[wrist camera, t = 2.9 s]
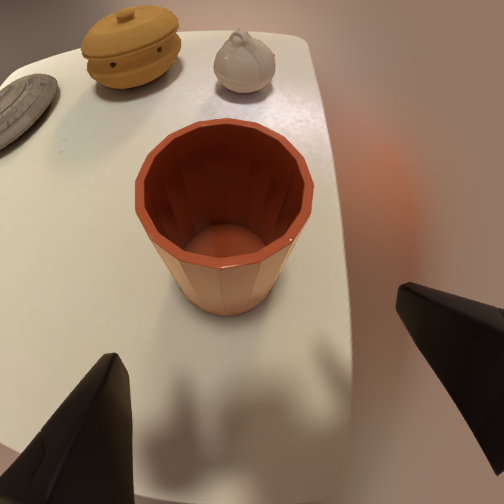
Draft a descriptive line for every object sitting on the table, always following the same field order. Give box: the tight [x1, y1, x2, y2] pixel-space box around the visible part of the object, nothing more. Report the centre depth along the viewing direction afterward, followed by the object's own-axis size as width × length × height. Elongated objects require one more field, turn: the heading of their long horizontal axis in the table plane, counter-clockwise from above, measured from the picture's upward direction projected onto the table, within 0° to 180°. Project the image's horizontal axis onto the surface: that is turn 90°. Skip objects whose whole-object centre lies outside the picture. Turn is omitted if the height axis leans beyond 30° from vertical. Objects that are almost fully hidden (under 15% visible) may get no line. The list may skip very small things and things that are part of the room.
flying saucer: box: [0, 74, 57, 150], centre depth 24 cm, size 15×15×6 cm
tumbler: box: [135, 118, 314, 316], centre depth 17 cm, size 7×7×11 cm
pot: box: [81, 5, 181, 89], centre depth 25 cm, size 12×12×10 cm
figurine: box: [214, 29, 275, 93], centre depth 26 cm, size 6×7×8 cm
